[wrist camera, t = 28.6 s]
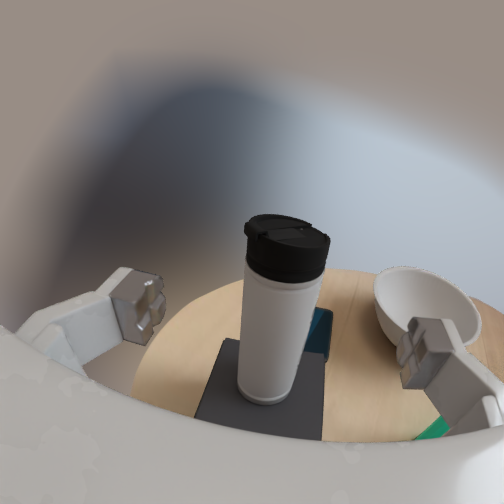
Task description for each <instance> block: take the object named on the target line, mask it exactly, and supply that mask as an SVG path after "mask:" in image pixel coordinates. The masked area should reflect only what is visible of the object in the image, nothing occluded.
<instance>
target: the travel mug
mask: <svg viewBox="0 0 504 504" xmlns="http://www.w3.org/2000/svg"><path fill="white" fill-rule="evenodd" d="M311 226H312V224H310V223H308V222H306V221H303V220H300V219H297V218H293V217H288V216H284V215H276V214H263V215H257V216H254V217H252V218H251V219H250V220H249V222H246V223H245V226H244V233H245V234H246V236H247V237H248V240H247V254H246V258H245V272H244V286H243V301H242V316H241V331H240V346H239V362H238V378H237V386H238V389H239V391H240V393H241V394H242V396H243V397H244V398H246V399H247V400H248V401H250V402H252V403H255V404H259V405H273V404H276V403H279V402H281V401H282V400H284V399H285V398H286V397H287V396H288V394H289V392H290V390H291V387H292V384H293V381H294V378H295V375H296V372H297V369H298V366H299V362H300V359H301V356H302V353H303V349H304V346H305V343H306V339H307V336H308V332H309V329H310V325H311V322H312V318H313V314H314V311H315V307H316V303H317V299H318V296H319V292H320V288H321V284H322V280H323V275H324V271H325V264H326V259H327V255H328V251H329V246H330V238H329V236H327V234H323V233H322V232H321V231H319V230H317V229H316V228H313V227H311Z"/></svg>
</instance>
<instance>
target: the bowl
mask: <svg viewBox="0 0 504 504" xmlns="http://www.w3.org/2000/svg"><path fill="white" fill-rule="evenodd" d="M373 291H374V295H375V308H376V313H377V317H378V320H379V323H380V325H381V328H382V330H383V331H384V333H385V334H386V336H387V337H388V338H389V340H390V341H391V342H392V343H393V344H394V345H395V346H396V347H397V346H398V342H399V340H400V338H401V336H402V335H403V334H405V333H406V332H408V328H407V325H408V323H409V321H410V319H411V318H412V317H413V316H414V317H424V318H435V319H438V318H442V319H450V320H452V321H453V323H454V325H455V327H456V329H457V331H458V333H459V335H460V338H461V340H462V342H463V344H464V347H465V346H468V345H470V344H472V343H473V342H475V341H476V339H477V338H478V337H479V335H480V332H481V327H482V323H481V318H480V314H479V312H478V310H477V308H476V306H475V305H474V303H473V302H472V300H471V299H470V298H469V297H468V296H467V295H466V294H465V293H464V292H463V291H462V290H461V289H460V288H459V287H457V286H456V285H455V284H453V283H452V282H450V281H448V280H447V279H445V278H443V277H441V276H439V275H437V274H435V273H432V272H430V271H427V270H423V269H420V268H415V267H406V266H398V267H391V268H387V269H385V270H383V271H381V272H380V273H379V274H378V275H377V276H376V278H375V280H374V284H373Z"/></svg>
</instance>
